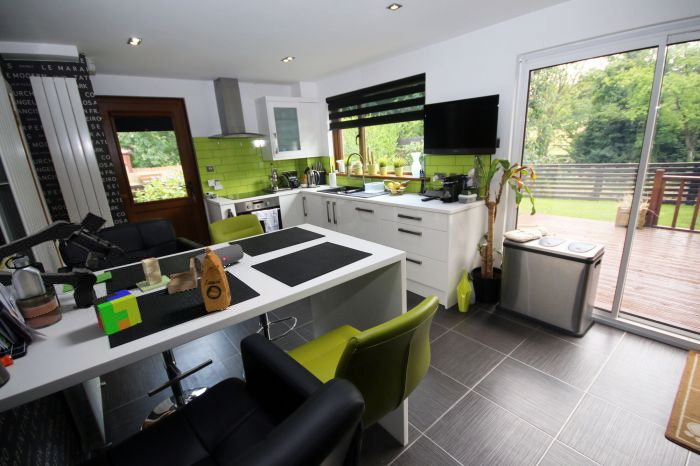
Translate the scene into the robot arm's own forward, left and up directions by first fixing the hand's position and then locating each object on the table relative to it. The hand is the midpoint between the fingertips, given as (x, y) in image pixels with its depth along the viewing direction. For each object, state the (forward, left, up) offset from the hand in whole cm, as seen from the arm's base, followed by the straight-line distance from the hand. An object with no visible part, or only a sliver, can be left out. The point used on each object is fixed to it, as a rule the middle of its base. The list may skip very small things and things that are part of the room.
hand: (128, 260), depth 135 cm
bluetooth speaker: (+23, -29, -14) cm, 39 cm away
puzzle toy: (-28, -14, -14) cm, 34 cm away
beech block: (+5, -5, -13) cm, 15 cm away
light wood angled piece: (+2, -20, -14) cm, 24 cm away
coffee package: (-17, -44, -14) cm, 49 cm away
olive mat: (+6, -5, -14) cm, 16 cm away
